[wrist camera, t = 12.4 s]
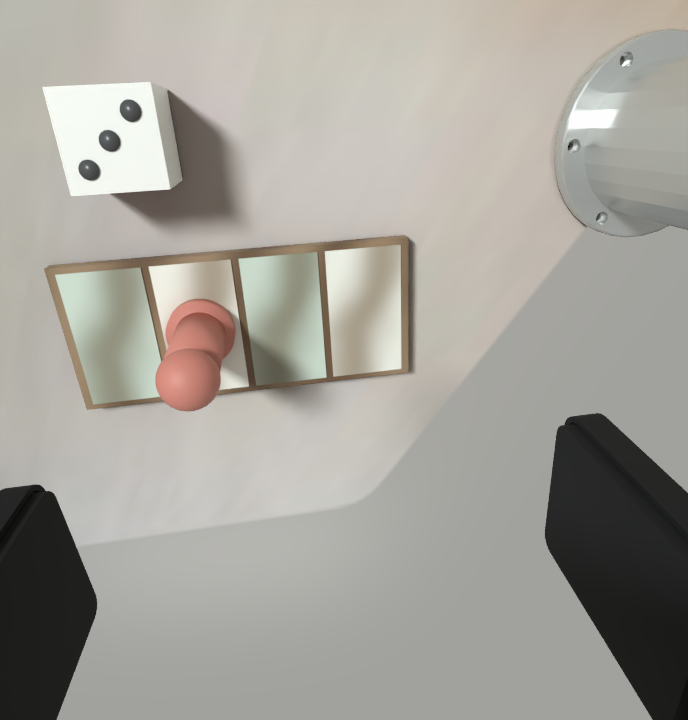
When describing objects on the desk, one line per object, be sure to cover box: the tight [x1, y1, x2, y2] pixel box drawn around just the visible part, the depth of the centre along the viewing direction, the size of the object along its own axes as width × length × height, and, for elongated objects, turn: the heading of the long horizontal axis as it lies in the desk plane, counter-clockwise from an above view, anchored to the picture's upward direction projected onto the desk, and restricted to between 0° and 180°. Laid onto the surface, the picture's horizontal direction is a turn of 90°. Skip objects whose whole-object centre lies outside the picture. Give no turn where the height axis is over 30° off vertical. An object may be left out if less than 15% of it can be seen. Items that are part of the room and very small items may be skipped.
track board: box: [44, 235, 408, 410], centre depth 35 cm, size 23×10×1 cm, turn 93°
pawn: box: [155, 299, 235, 411], centre depth 31 cm, size 4×4×9 cm
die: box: [42, 82, 183, 196], centre depth 28 cm, size 5×5×5 cm
